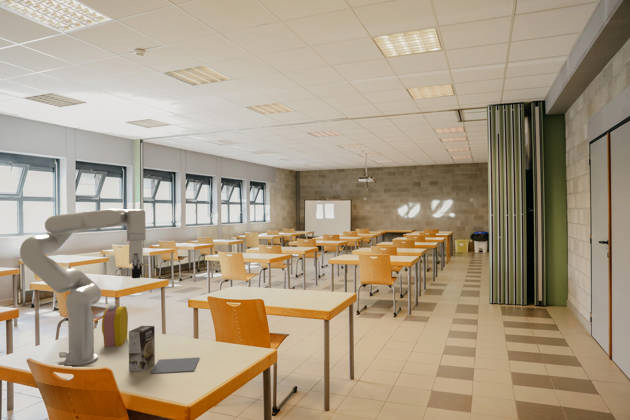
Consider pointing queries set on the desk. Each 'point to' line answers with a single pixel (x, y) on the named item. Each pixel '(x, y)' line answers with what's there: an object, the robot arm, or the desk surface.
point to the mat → (175, 365)
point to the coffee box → (141, 348)
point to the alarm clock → (114, 325)
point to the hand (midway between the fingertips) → (136, 276)
